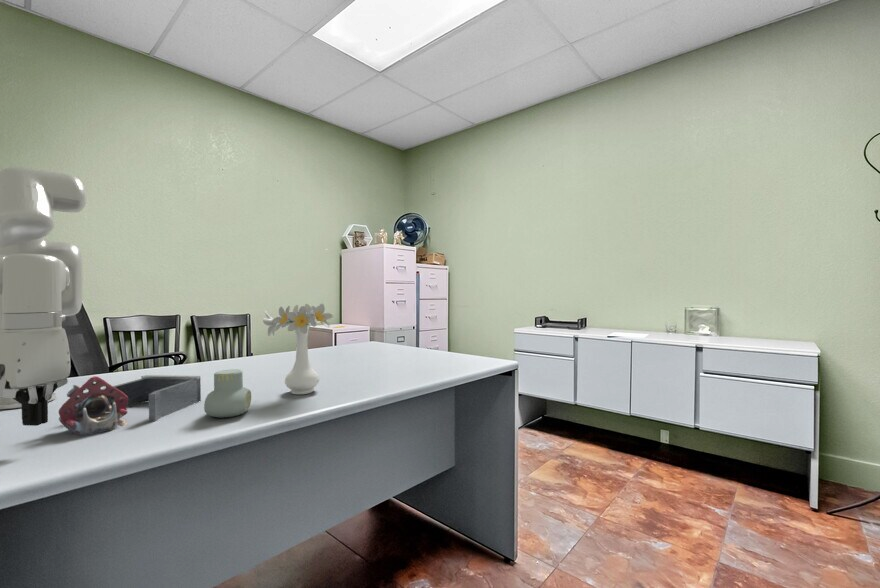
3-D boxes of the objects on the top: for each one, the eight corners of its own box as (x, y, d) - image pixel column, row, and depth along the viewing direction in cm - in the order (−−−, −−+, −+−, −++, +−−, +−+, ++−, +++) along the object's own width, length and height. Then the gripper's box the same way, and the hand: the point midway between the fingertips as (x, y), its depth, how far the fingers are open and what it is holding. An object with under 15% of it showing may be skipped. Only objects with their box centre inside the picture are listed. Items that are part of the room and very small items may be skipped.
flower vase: (267, 389, 116) (266, 303, 116) (332, 384, 121) (331, 302, 121) (261, 401, 104) (259, 305, 103) (334, 395, 109) (333, 303, 109)
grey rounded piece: (216, 409, 98) (215, 368, 97) (253, 406, 100) (252, 366, 100) (201, 423, 87) (200, 377, 87) (243, 420, 89) (242, 375, 89)
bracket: (82, 420, 90) (81, 390, 90) (142, 399, 106) (142, 375, 106) (153, 421, 88) (153, 391, 88) (204, 401, 104) (203, 375, 104)
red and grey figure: (68, 431, 75) (57, 376, 80) (56, 456, 81) (46, 403, 85) (140, 415, 85) (126, 367, 89) (125, 438, 90) (113, 391, 94)
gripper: (57, 319, 80) (59, 411, 80) (-39, 326, 65) (-36, 438, 65) (91, 319, 79) (93, 411, 79) (2, 326, 64) (5, 439, 65)
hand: (35, 423), depth 72 cm, fingers closed
